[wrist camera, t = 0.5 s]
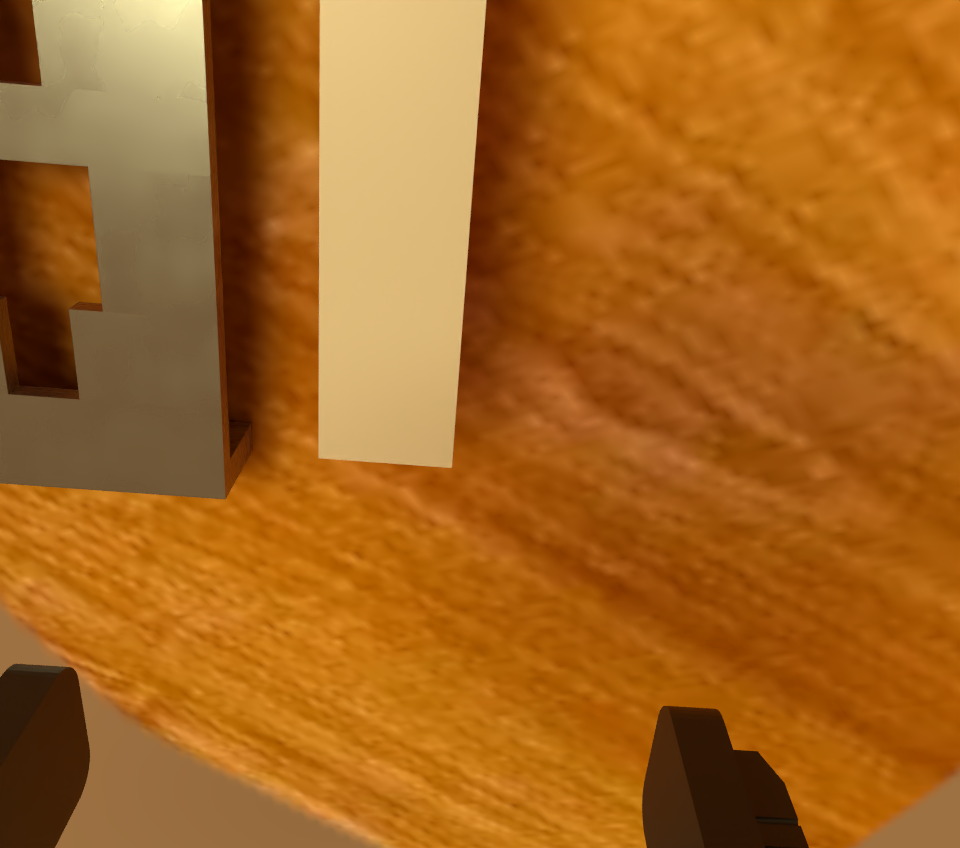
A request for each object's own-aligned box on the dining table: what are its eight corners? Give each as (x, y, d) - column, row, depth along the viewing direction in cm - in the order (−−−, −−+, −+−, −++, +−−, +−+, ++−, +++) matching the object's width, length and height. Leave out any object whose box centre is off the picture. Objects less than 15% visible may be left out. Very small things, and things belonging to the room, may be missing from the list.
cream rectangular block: (364, -124, 27) (317, -182, 19) (494, -113, 27) (498, -166, 19) (354, 363, 34) (316, 464, 26) (459, 371, 34) (451, 474, 26)
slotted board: (-199, -341, 25) (-315, -403, 21) (228, -300, 25) (185, -354, 22) (-52, 427, 35) (-115, 475, 31) (252, 449, 35) (225, 499, 31)
